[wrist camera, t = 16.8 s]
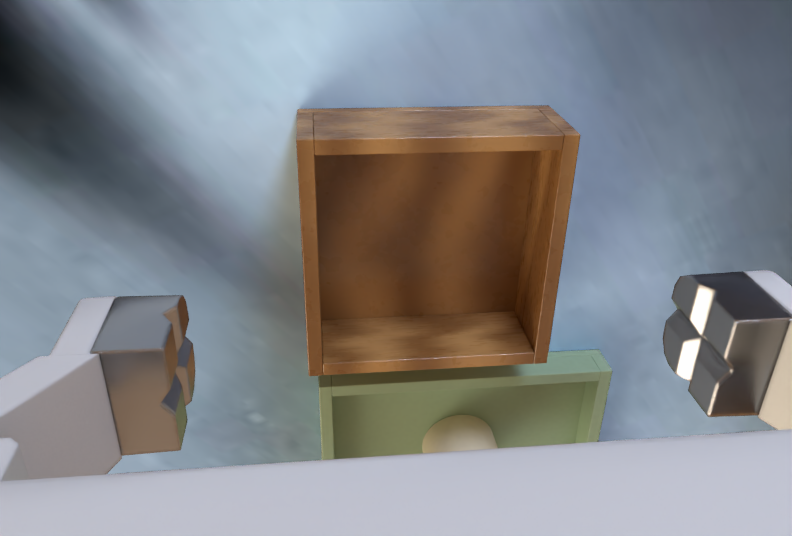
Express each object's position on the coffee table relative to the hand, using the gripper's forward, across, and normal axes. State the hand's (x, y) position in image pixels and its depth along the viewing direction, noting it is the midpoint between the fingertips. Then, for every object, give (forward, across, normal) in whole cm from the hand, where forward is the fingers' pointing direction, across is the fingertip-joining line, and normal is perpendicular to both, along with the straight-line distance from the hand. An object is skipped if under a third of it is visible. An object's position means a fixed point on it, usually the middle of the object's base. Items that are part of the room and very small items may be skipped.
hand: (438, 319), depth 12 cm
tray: (+27, -7, +27) cm, 39 cm away
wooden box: (+27, -4, +11) cm, 29 cm away
